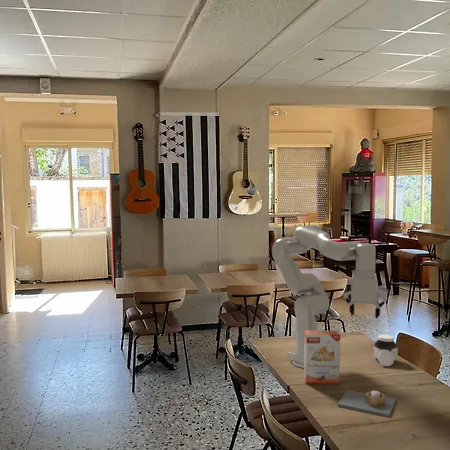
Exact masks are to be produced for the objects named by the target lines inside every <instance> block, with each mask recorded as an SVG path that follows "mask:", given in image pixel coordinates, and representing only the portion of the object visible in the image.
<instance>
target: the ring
mask: <svg viewBox="0 0 450 450" xmlns="http://www.w3.org/2000/svg"><path fill="white" fill-rule="evenodd" d="M379 392H380V391H379ZM365 393H366V394H365V403H366V404H368V405H369V406H373V407H383V406H384V405H385V397H386V395H385V394H384V393H382V392H380V398H375V397H371V391H370V390H369V391H366V392H365Z"/></svg>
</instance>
